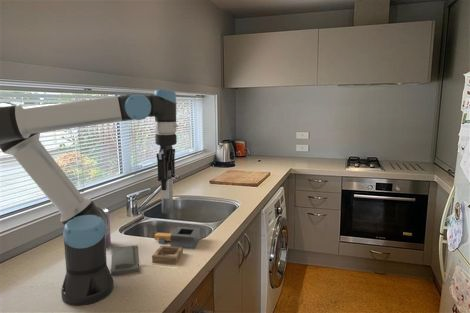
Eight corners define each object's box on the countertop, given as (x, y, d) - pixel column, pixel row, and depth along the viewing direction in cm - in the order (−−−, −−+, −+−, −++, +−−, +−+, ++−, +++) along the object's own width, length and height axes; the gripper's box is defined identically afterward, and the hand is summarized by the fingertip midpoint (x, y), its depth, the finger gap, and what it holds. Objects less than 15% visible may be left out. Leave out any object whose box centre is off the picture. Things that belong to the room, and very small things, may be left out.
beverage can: (106, 240, 141) (104, 207, 139) (113, 244, 138) (112, 210, 135) (92, 245, 137) (90, 211, 134) (100, 249, 133) (98, 214, 131)
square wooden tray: (175, 266, 120) (175, 258, 120) (152, 264, 122) (152, 256, 121) (182, 255, 129) (182, 247, 129) (160, 253, 130) (160, 245, 130)
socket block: (194, 251, 133) (194, 237, 132) (156, 248, 135) (156, 234, 134) (200, 241, 143) (200, 228, 142) (165, 238, 145) (164, 225, 144)
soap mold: (138, 249, 135) (138, 241, 135) (140, 273, 117) (139, 264, 116) (112, 252, 132) (111, 244, 132) (109, 278, 113) (108, 268, 113)
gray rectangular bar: (170, 214, 120) (170, 171, 117) (160, 213, 121) (159, 171, 118) (174, 210, 124) (173, 169, 121) (164, 209, 124) (163, 168, 122)
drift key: (170, 240, 138) (170, 236, 137) (154, 239, 139) (154, 235, 138) (172, 238, 141) (172, 233, 140) (157, 236, 142) (157, 232, 141)
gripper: (168, 136, 108) (169, 204, 112) (183, 131, 125) (183, 190, 129) (146, 135, 109) (148, 202, 113) (164, 131, 126) (165, 189, 130)
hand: (167, 196), depth 121 cm, fingers closed on gray rectangular bar, 4 cm apart
